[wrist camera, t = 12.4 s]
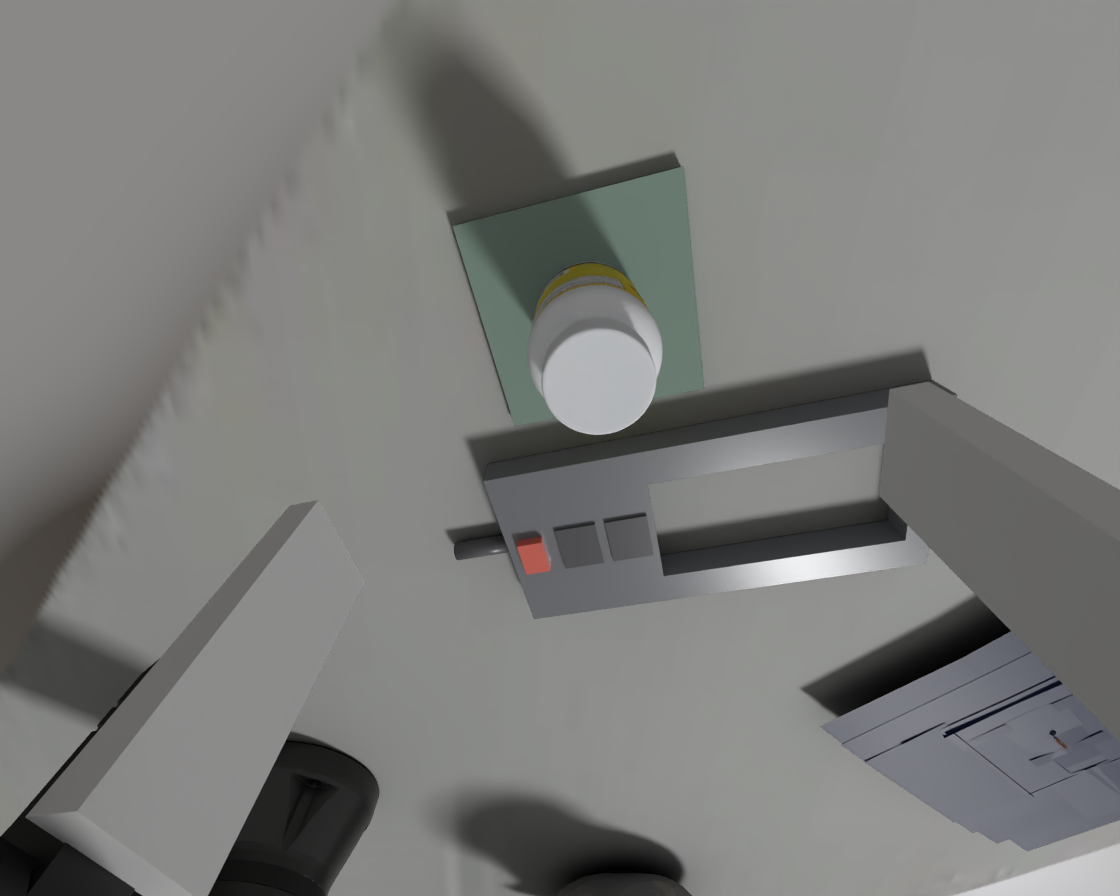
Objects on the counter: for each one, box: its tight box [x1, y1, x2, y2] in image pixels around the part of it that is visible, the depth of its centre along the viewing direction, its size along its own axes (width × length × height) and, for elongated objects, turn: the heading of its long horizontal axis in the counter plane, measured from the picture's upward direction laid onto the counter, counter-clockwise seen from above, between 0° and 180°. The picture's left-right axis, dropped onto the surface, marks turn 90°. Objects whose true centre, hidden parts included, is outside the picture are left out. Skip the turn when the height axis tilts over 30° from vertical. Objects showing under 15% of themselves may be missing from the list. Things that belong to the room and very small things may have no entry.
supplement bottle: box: [527, 261, 663, 435], centre depth 21 cm, size 5×5×10 cm
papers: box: [820, 631, 1120, 851], centre depth 40 cm, size 24×30×4 cm
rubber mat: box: [453, 166, 704, 426], centre depth 25 cm, size 11×11×1 cm
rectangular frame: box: [454, 380, 957, 619], centre depth 31 cm, size 30×12×3 cm, turn 103°
